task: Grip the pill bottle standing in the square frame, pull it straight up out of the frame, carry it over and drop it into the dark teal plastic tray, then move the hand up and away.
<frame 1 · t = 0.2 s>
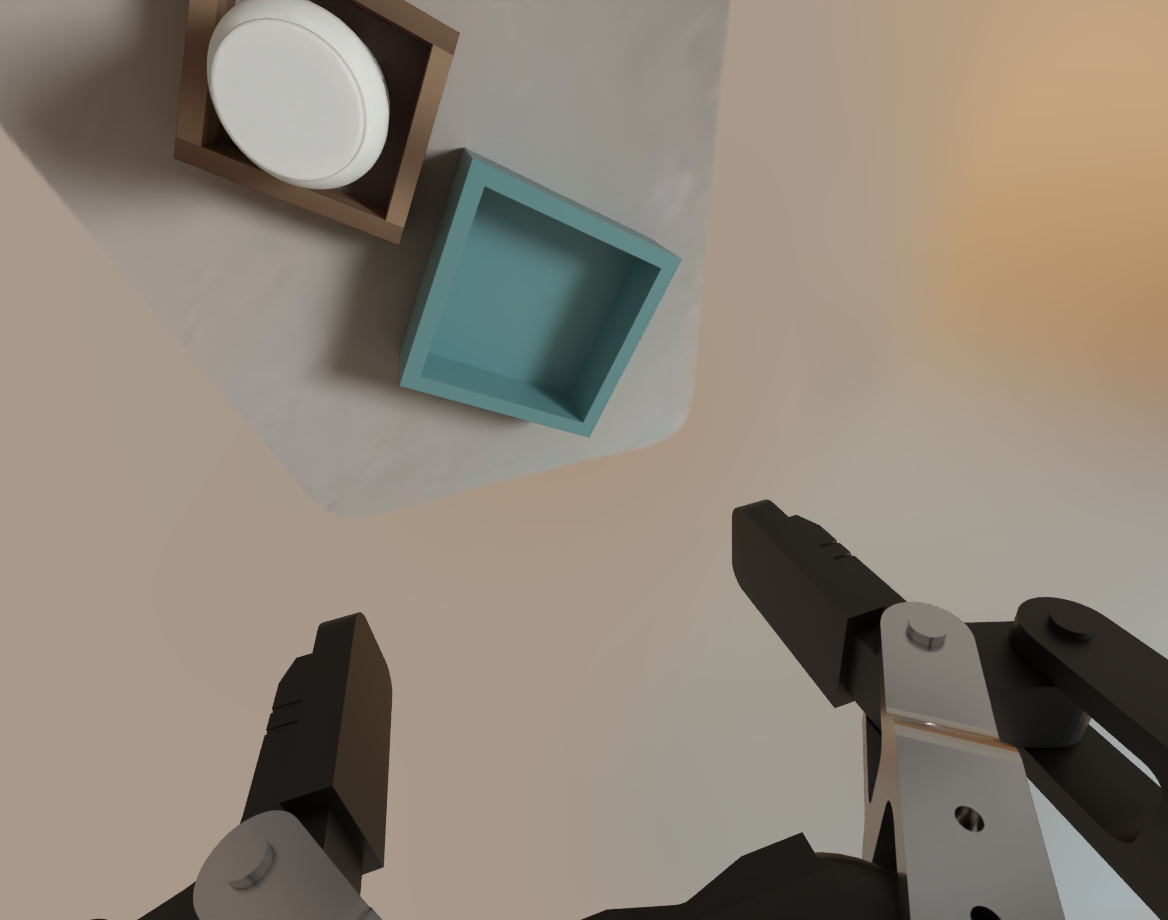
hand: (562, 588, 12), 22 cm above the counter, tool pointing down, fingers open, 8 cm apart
pill bottle: (324, 92, 24), resting in square frame
square frame: (324, 93, 23), on the counter
tray: (526, 296, 31), on the counter
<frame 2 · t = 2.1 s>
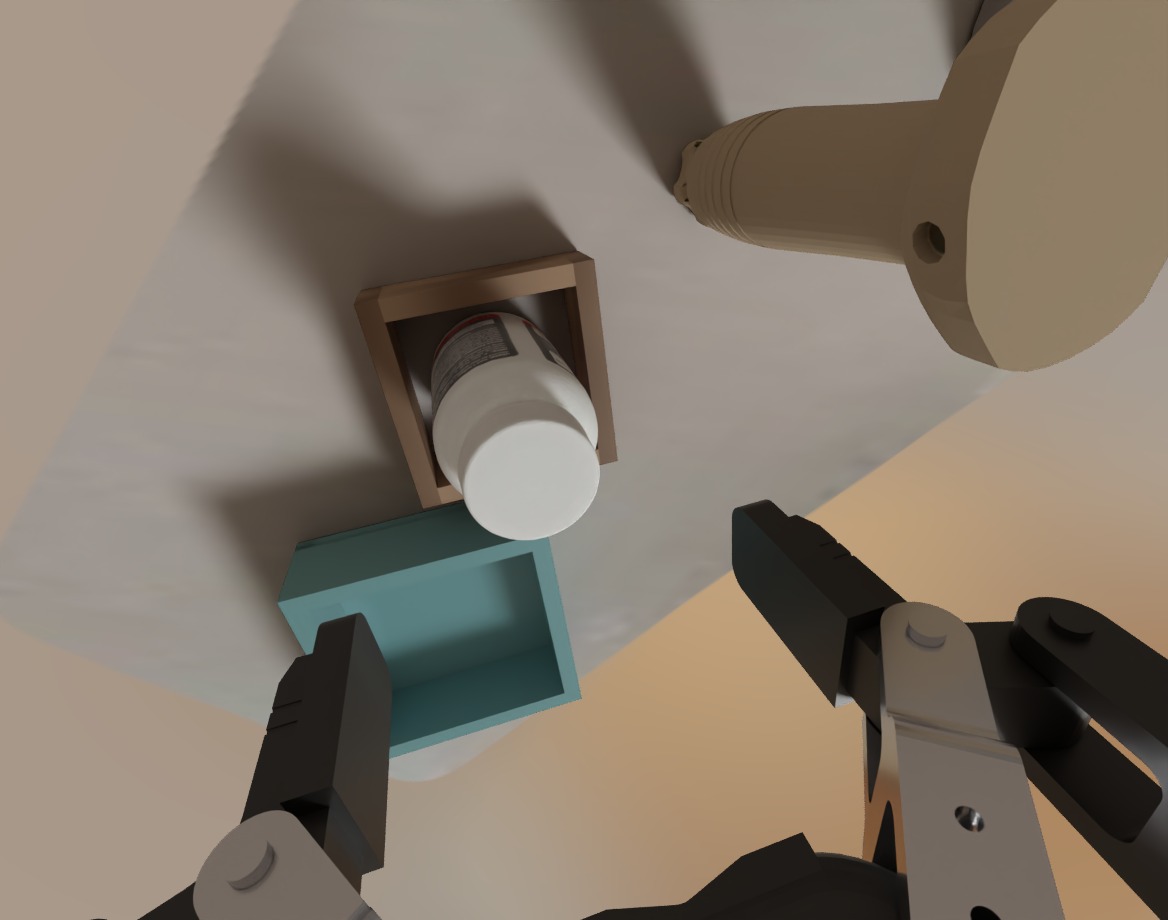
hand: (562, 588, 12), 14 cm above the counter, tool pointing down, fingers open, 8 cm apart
handle: (704, 178, 22), on the counter
pill bottle: (495, 370, 24), resting in square frame
square frame: (495, 372, 24), on the counter
tray: (447, 599, 29), on the counter
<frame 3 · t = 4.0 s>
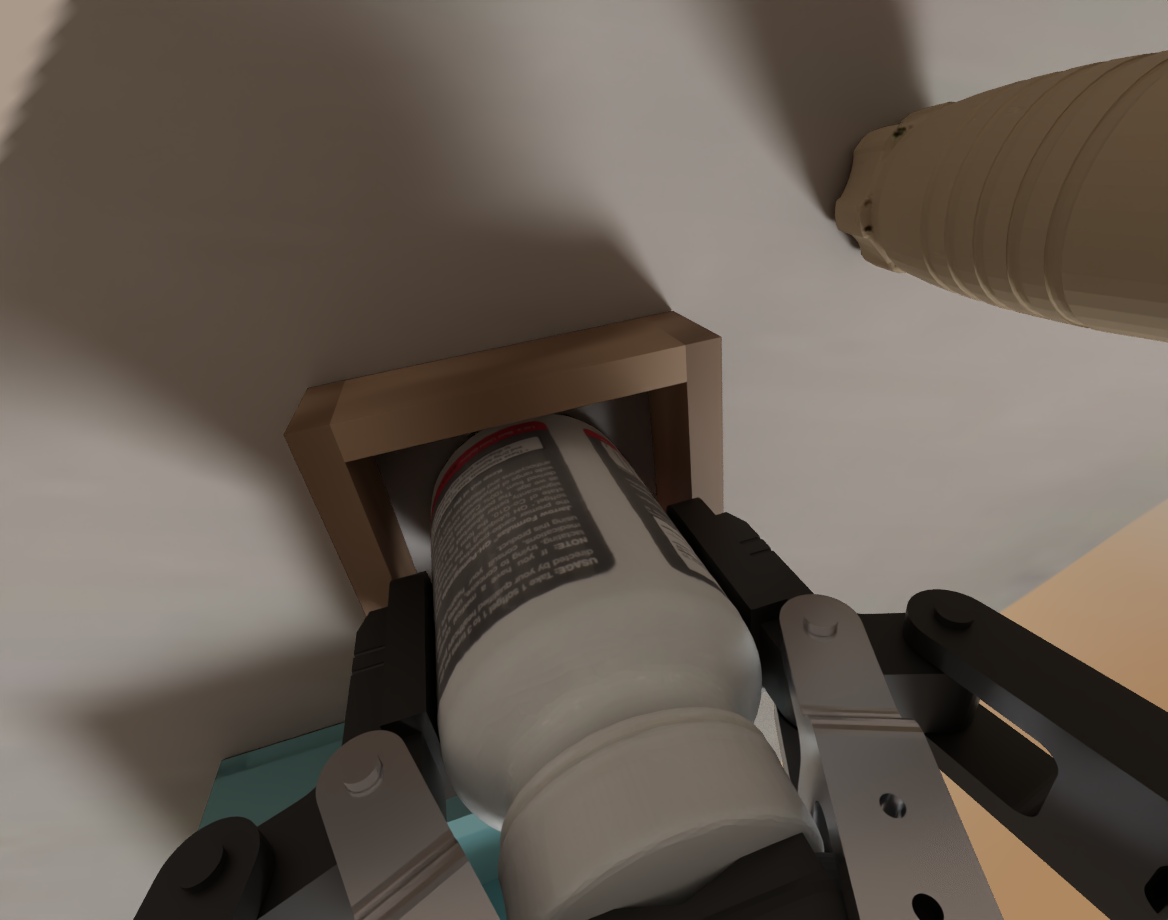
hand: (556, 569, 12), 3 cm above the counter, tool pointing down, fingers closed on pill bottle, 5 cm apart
handle: (879, 191, 14), on the counter
pill bottle: (532, 496, 15), resting in square frame, touching gripper
square frame: (533, 500, 15), on the counter
tray: (455, 800, 20), on the counter
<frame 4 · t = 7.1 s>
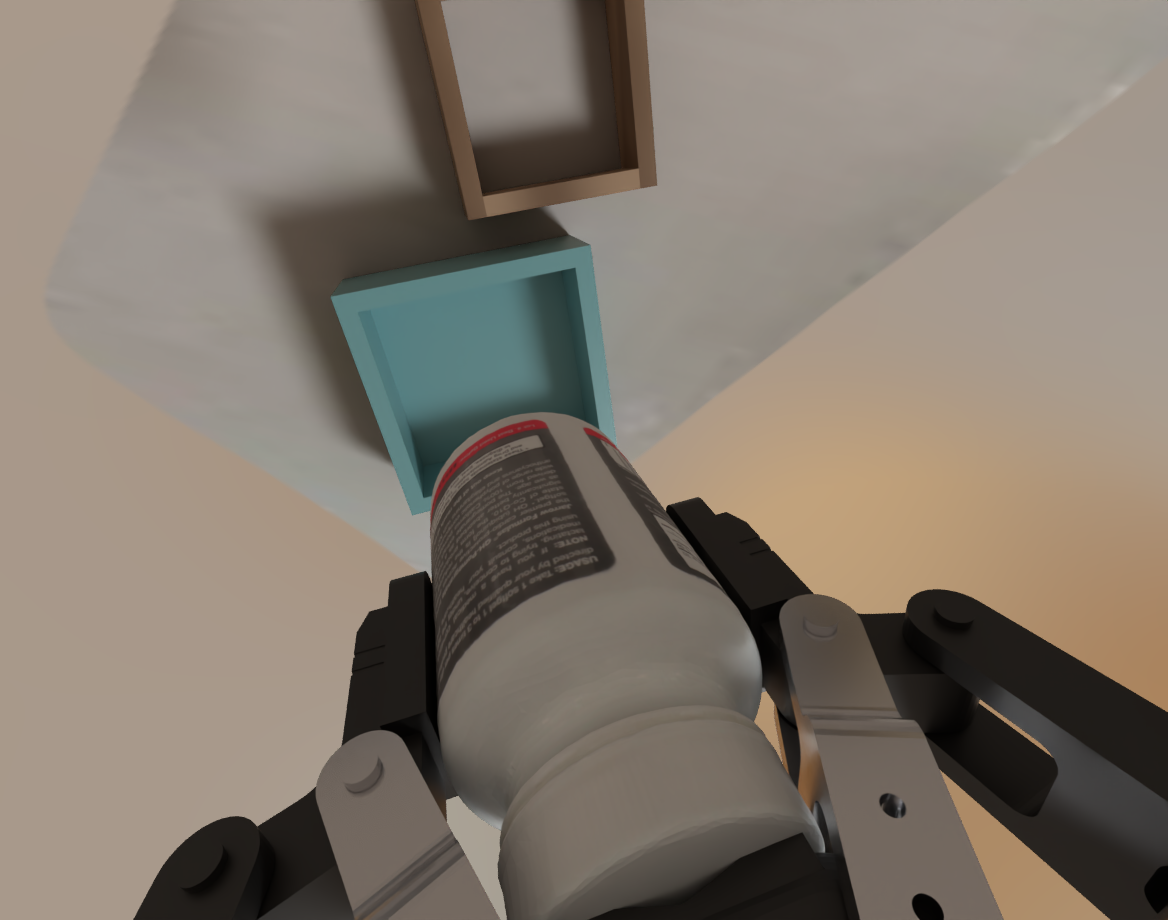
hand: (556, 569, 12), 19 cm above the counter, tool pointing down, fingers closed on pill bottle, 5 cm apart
pill bottle: (532, 495, 15), point 16 cm above the counter, touching gripper
square frame: (537, 92, 24), on the counter
tray: (486, 364, 29), on the counter
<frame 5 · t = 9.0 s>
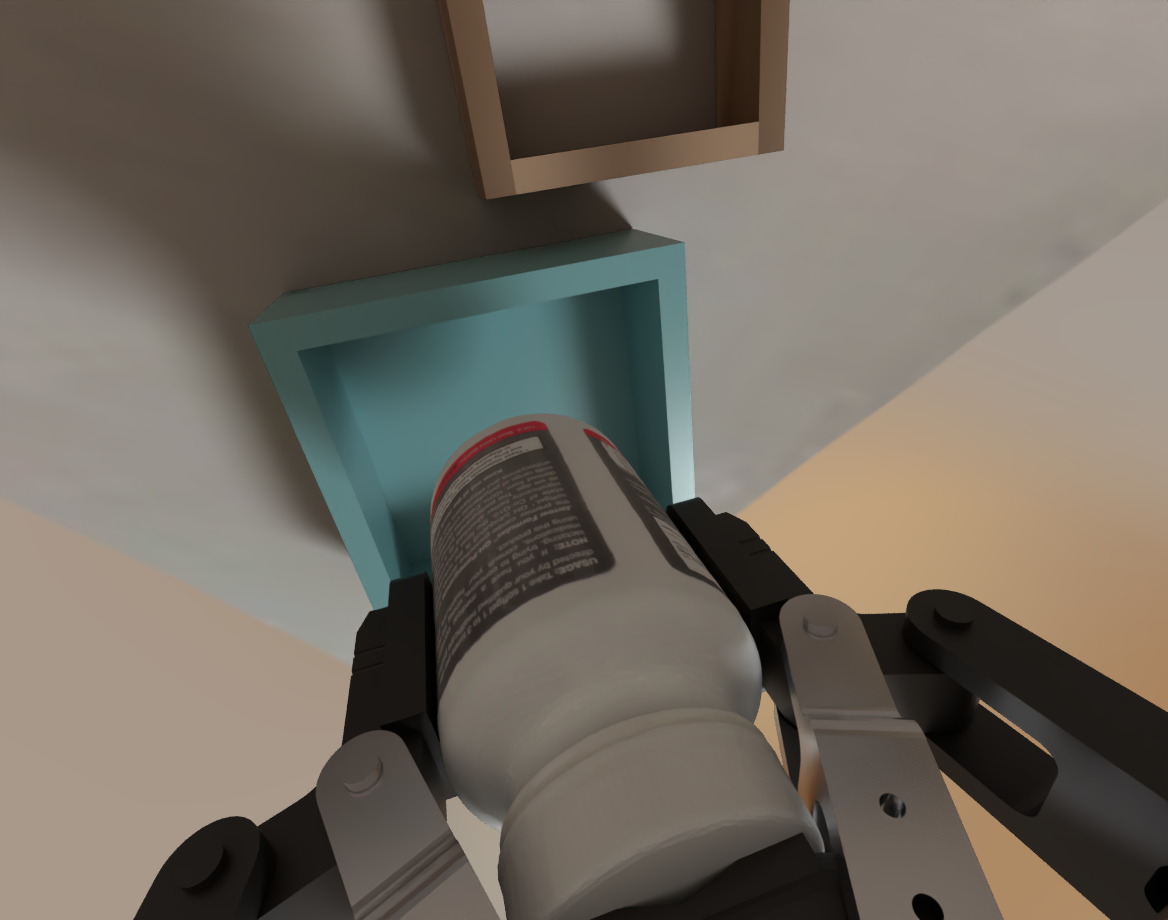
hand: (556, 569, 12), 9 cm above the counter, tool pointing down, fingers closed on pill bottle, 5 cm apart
pill bottle: (532, 496, 15), point 6 cm above the counter, touching gripper
tray: (504, 417, 20), on the counter
when the fingers open (6 cm above the counter, at t = 10.5 s): pill bottle drops 2 cm, resting on tray.
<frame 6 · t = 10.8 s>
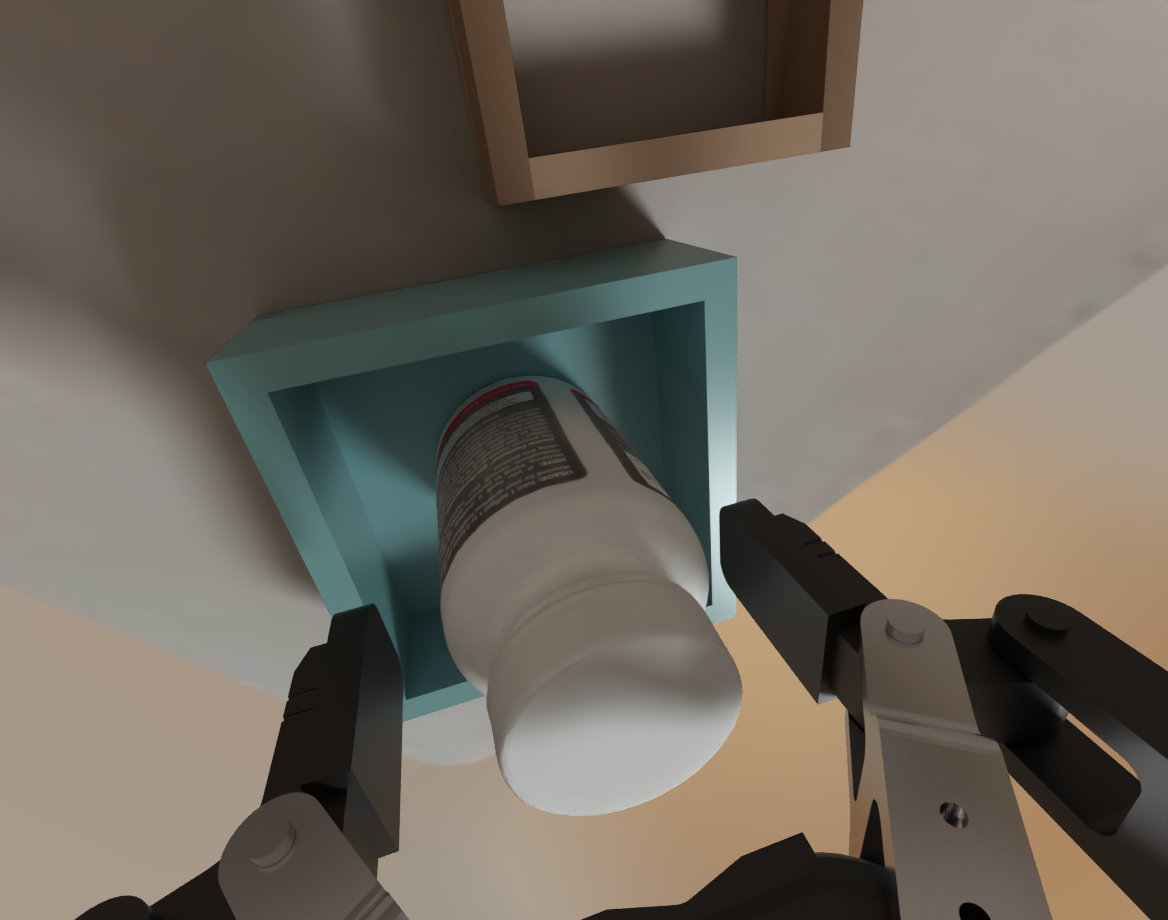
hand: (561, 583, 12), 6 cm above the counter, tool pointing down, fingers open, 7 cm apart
pill bottle: (525, 453, 17), resting on tray
tray: (515, 453, 17), on the counter
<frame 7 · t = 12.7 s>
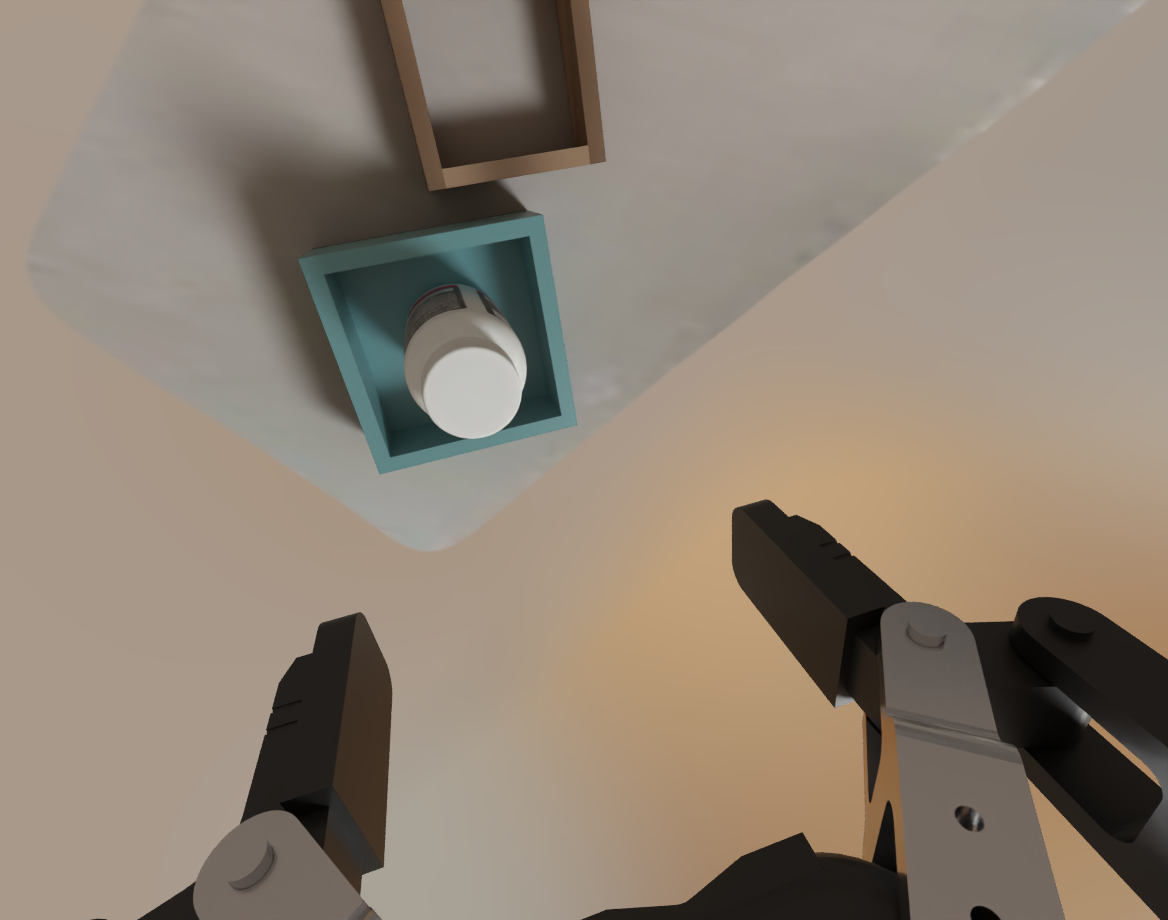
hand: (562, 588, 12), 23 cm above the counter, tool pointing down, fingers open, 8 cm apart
pill bottle: (456, 331, 30), resting on tray
square frame: (493, 75, 26), on the counter
tray: (451, 333, 31), on the counter
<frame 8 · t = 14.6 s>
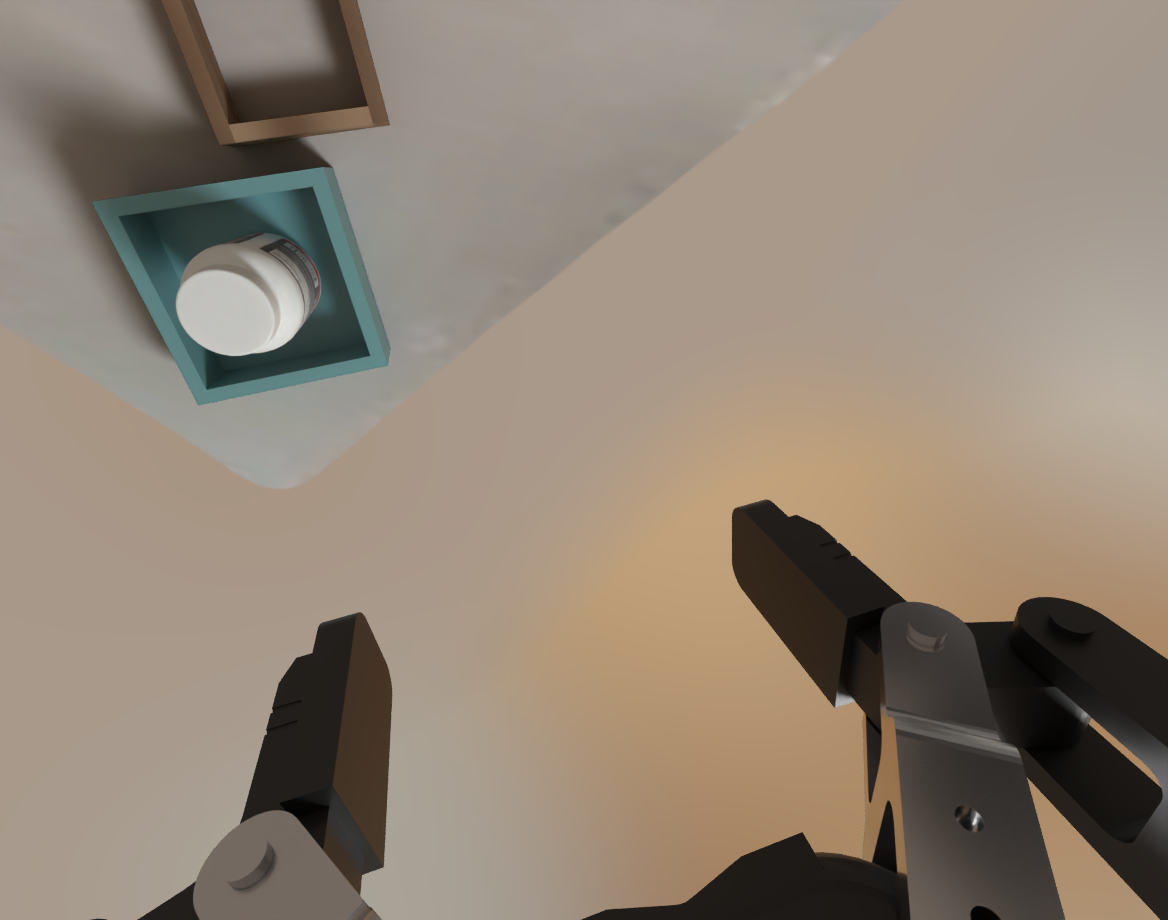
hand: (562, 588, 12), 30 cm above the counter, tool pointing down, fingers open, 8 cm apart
pill bottle: (275, 278, 34), resting on tray
square frame: (282, 42, 29), on the counter
tray: (273, 281, 34), on the counter
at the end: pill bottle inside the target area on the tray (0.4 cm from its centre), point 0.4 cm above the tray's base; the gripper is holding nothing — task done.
